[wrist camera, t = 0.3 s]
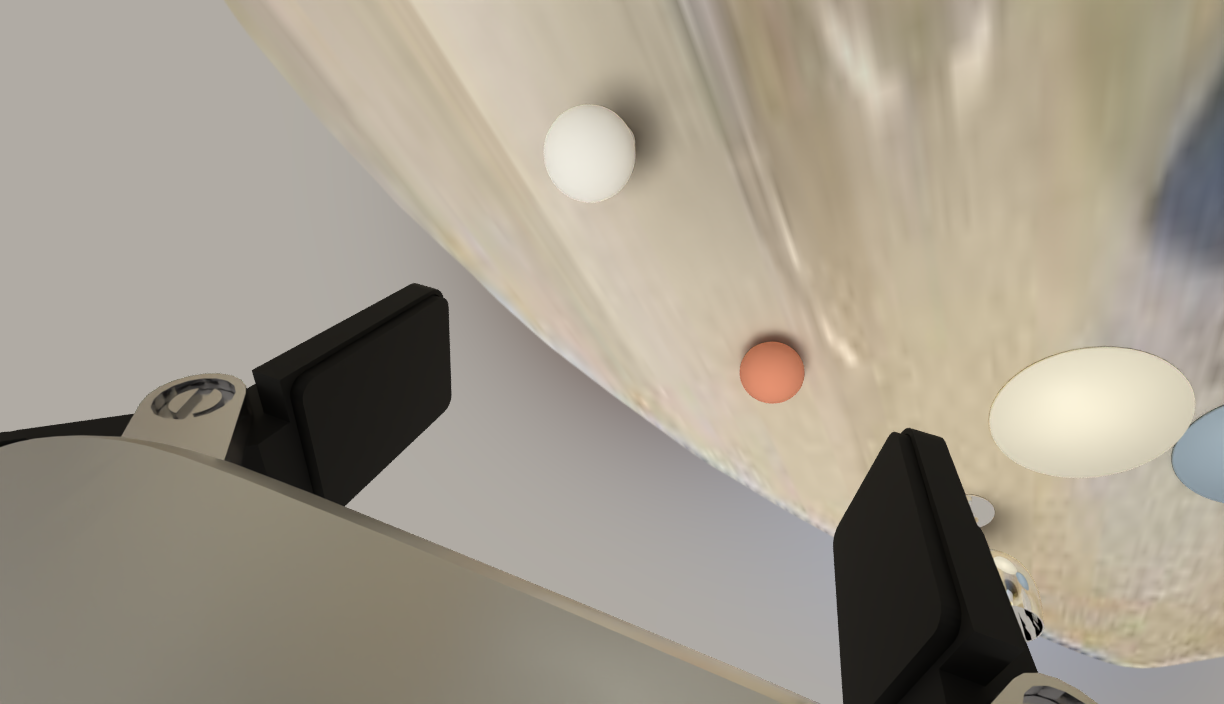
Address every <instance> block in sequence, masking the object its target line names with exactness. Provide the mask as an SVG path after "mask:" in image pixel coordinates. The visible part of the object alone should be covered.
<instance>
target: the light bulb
mask: <svg viewBox="0 0 1224 704" xmlns="http://www.w3.org/2000/svg"><path fill="white" fill-rule="evenodd" d="M635 143H636V142H635V137H634V134H633V132H632V131H631V129H630V128H629V127H628V126H627V125H626V124H625V122H624V121H623V120H622V119H621V118H620V117H619V116H618V115H617V114H616V113H615V112H613V111H611V110H610V109H608V108H606V107H603V106H600V105H592V104H584V105H578V106H575V107H573V108H570V109H568V110H567V111H565V112H564V113H562V114H561V115H560V116H559V117H558V118H557V119H556V120H555V121H554V122H553V124H552V126H551V127H550V129H549V131H548V133H547V136H546V139H545V143H544V161H545V166H546V169H547V172H548V175H549V176H550V178H551V180H552V182H553V183H554V184H555V186H556V187H557V188H558V189H559V190H560V191H561V192H562V193H563V194H565V195H566V196H568V197H570V198H571V199H574V200H577V201H581V202H587V203H594V202H600V201H603V200H606V199H609V198H611V197H612V196H614V195H616V194H617V193H618V192H619V191H620V190H621V189H622V188H623V187H624V186H625V184H626V183H627V182H628V180H629V178H630V176H631V174H632V172H633V168H634V165H635Z"/></svg>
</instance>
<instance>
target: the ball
mask: <svg viewBox="0 0 1224 704" xmlns="http://www.w3.org/2000/svg"><path fill="white" fill-rule="evenodd" d="M740 379H741V382H742V385H743V387H744V388H745V390H746V391H747V392H748V393H749V394H750V395H751V396H752V397H753V398H755V399H757V400H759V401H761V402H765V403H780V402H784V401H786V400H788V399H790V398H791V397H793V396H794V395H795V394H796V393H797V392H798V391H799V389H800V388H801V386H802V383H803V381H804V365H803V362H802V360H801V358H800V356H799V355H798V354H797V353H796V352H795V350H793V349H792V348H791V347H789V346H787V345H785V344H783V343H779V342H765V343H761V344H758V345H756V346H754V347H753V348H752V349H750V350H749V351H748V352H747V353H746V355H745V356H744V358H743V360H742V362H741V366H740Z"/></svg>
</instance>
